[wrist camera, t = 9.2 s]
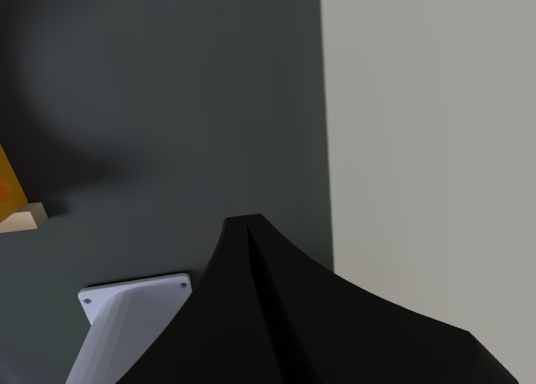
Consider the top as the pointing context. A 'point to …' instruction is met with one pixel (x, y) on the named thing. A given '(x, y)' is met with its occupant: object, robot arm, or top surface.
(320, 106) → the top surface
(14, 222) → the rail channel
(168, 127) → the top surface
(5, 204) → the pipe clamp
